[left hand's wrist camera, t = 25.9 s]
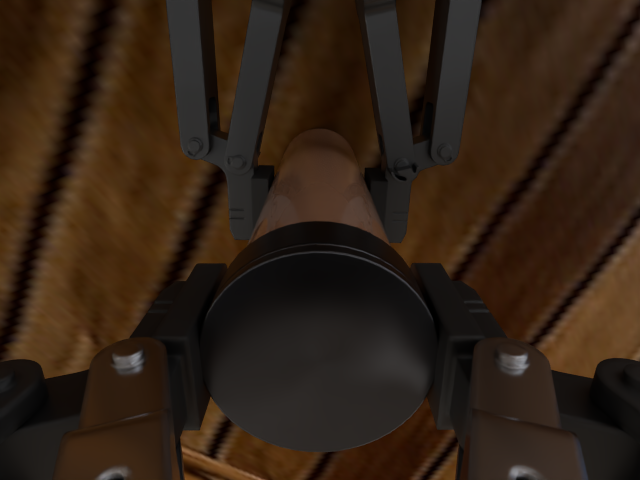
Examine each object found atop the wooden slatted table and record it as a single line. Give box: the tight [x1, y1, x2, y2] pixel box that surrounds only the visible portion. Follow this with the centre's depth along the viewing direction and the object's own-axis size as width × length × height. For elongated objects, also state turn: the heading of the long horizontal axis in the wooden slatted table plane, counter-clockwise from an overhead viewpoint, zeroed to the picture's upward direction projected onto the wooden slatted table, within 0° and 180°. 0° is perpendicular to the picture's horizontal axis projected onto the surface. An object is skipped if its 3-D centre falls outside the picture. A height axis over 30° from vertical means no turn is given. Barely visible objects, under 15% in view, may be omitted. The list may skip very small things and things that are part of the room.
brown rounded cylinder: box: [247, 129, 391, 246], centre depth 18 cm, size 4×4×18 cm
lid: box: [199, 221, 438, 452], centre depth 10 cm, size 5×5×2 cm
